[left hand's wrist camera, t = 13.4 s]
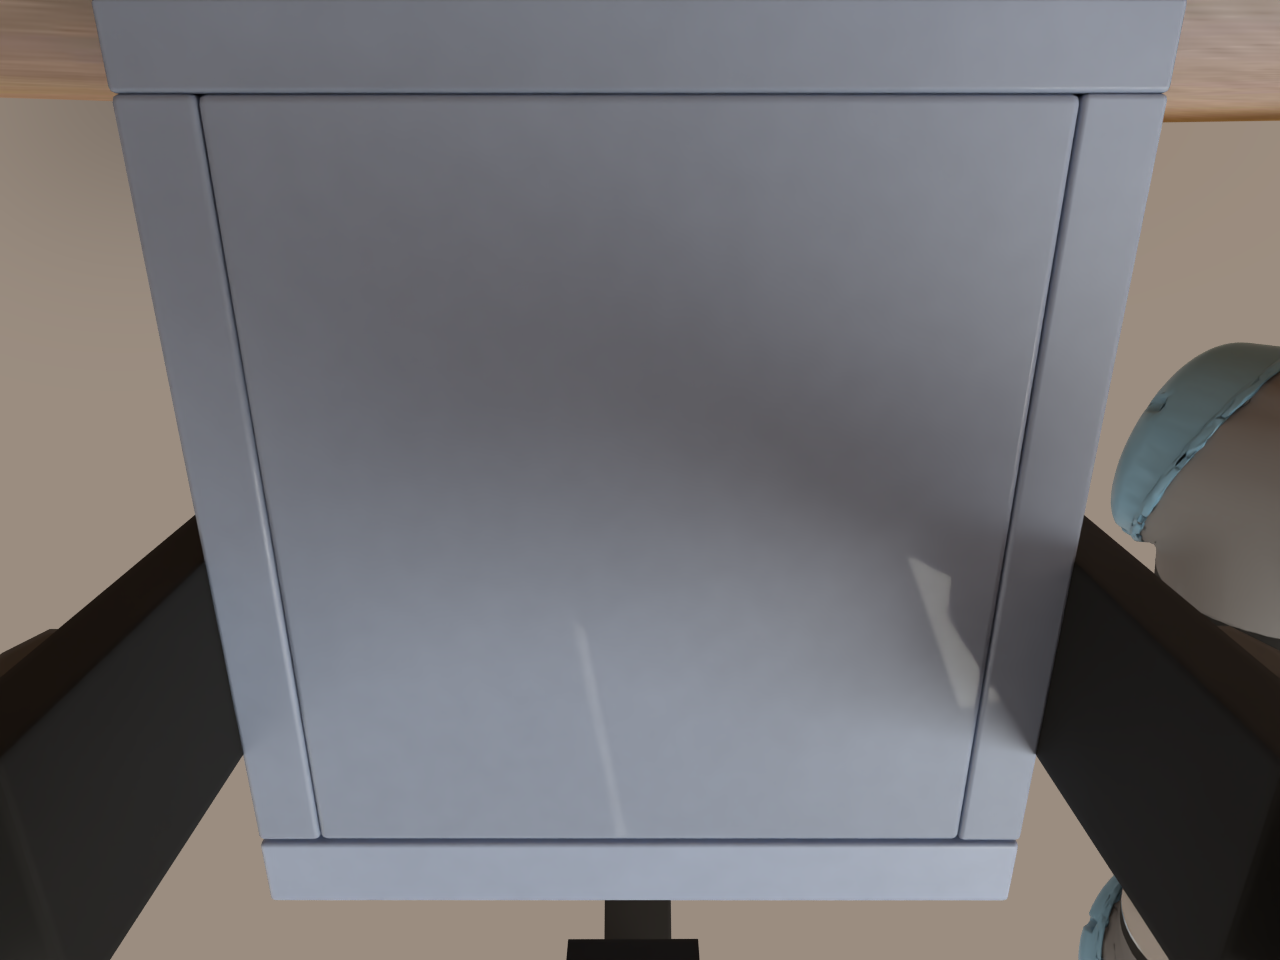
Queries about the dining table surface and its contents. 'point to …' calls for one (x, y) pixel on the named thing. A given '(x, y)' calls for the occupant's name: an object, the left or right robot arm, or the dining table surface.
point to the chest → (639, 393)
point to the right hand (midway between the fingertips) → (634, 739)
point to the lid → (639, 868)
